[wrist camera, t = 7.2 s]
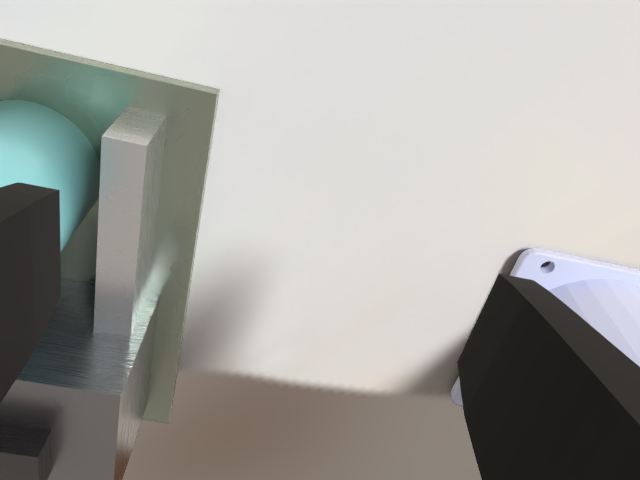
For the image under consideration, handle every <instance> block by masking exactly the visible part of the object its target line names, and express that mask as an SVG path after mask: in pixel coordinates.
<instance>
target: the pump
mask: <svg viewBox="0 0 640 480" xmlns="http://www.w3.org/2000/svg"><path fill="white" fill-rule="evenodd" d="M18 182H20V183H25V184H31V185H36V186H41V187H46V188H52V189H57V190H60V250H61V251H62V250H63V248H64V247H65V245H66V244H67V242H68V241H69V240H70V238H71V237H72V235H73V234H74V232H75V231H76V229H77V228H78V227H79V225H80V224H81V222H82V221H83V219H84V218H85V216H86V215H87V213H88V212H89V211H90V209H91V208H92V206H93V205H94V203H95V201H96V200H97V198H98V195H99V187H100V163H99V160H98V157H97V154H96V152H95V150H94V148H93V146H92V145H91V143H90V142H89V140H88V139H87V137H86V136H85V135H84V134H83V133H82V131H81V130H80V129H79V128H78V127H77V126H76V125H75V124H74V123H72V122H71V121H70V120H69V119H67V118H66V117H64V116H63V115H61V114H60V113H58V112H56V111H55V110H52V109H50V108H48V107H46V106H43V105H40V104H37V103H34V102H29V101H23V100H4V101H0V187H4V186H7V185H10V184H14V183H18Z"/></svg>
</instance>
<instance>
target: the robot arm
mask: <svg viewBox="0 0 640 480" xmlns="http://www.w3.org/2000/svg"><path fill="white" fill-rule="evenodd" d="M547 261H551V263H550V264H549V265H548V266H546V267H541V265H542V264H543V263H545V262H547ZM60 297H61V250H60V190H57V189H52V188H46V187H41V186H36V185H31V184H25V183H20V182H18V183H14V184H10V185H7V186H4V187H0V403H1V402H2V400H3V399H4V397H5V396H6V394H7V393H8V391H9V390H10V388H11V386H12V385H13V383H14V382H15V380H16V379H17V377H18V376H19V374H20V373H21V371H22V369H23V368H24V366H25V365H26V363H27V362H28V360H29V359H30V357H31V355H32V354H33V352H34V351H35V349H36V347H37V345H38V343H39V341H40V339H41V337H42V335H43V333H44V331H45V329H46V327H47V325H48V323H49V321H50V319H51V316H52V314H53V312H54V310H55V308H56V305H57V303H58V301H59V299H60ZM458 371H459V376H458V378H457V380H456V382H455V384H454V386H453V388H452V390H451V397H452V400H453V402H454V403H455V404H456V405H459V406H463V409H464V415H465V419H466V423H467V427H468V431H469V435H470V438H471V442H472V446H473V449H474V453H475V457H476V460H477V464H478V467H479V471H480V474H481V478H482V480H640V270H639V269H634V268H629V267H625V266H620V265H615V264H610V263H606V262H601V261H596V260H591V259H587V258H582V257H577V256H572V255H568V254H563V253H558V252H553V251H548V250H544V249H539V248H530V249H527V250H525V251H524V252H522V253H521V255H520V256H519V258H518V259H517V261H516V263H515V265H514V267H513V269H512V271H511V273H510V275H504V274H499V275H498V277H497V279H496V282H495V284H494V286H493V288H492V290H491V292H490V294H489V296H488V299H487V301H486V303H485V305H484V307H483V309H482V311H481V313H480V315H479V318H478V320H477V322H476V324H475V326H474V328H473V330H472V332H471V335H470V337H469V339H468V341H467V343H466V345H465V347H464V349H463V352H462V354H461V356H460V358H459V360H458Z"/></svg>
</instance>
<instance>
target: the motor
mask: <svg viewBox="0 0 640 480" xmlns="http://www.w3.org/2000/svg"><path fill="white" fill-rule="evenodd" d="M218 96H219V89H216V88H211V87H207V86H203V85H198V84H194V83H190V82H185V81H181V80H177V79H172V78H168V77H164V76H159V75H155V74H151V73H146V72H142V71H138V70H133V69H129V68H125V67H121V66H116V65H112V64H108V63H103V62H99V61H95V60H90V59H86V58H82V57H77V56H73V55H69V54H64V53H60V52H56V51H51V50H47V49H43V48H38V47H34V46H30V45H25V44H21V43H17V42H12V41H8V40H4V39H0V101H4V100H23V101H29V102H34V103H37V104H40V105H43V106H46V107H48V108H50V109H52V110H55V111H56V112H58V113H60V114H61V115H63V116H64V117H66V118H67V119H69V120H70V121H71V122H72V123H74V124H75V125H76V126H77V127H78V128H79V129H80V130H81V131H82V133H83V134H84V135H85V136H86V137H87V139H88V140H89V142H90V143H91V145H92V146H93V148H94V150H95V152H96V154H97V157H98V160H99V163H100V187H99V195H98V198H97V200H96V201H95V203H94V205H93V206H92V208H91V209H90V211H89V212H88V213H87V215H86V216H85V218H84V219H83V221H82V222H81V224H80V225H79V227H78V228H77V229H76V231H75V232H74V234H73V235H72V237H71V238H70V240H69V241H68V242H67V244H66V245H65V247H64V248H63V250H62V251H61V297H60V299H59V301H58V303H57V305H56V308H55V310H54V312H53V314H52V316H51V319H50V321H49V323H48V325H47V327H46V329H45V331H44V333H43V335H42V337H41V339H40V341H39V343H38V345H37V347H36V349H35V351H34V352H33V354H32V355H31V357H30V359H29V360H28V362H27V363H26V365H25V366H24V368H23V369H22V371H21V373H20V374H19V376H18V377H17V379H16V380H15V382H14V383H13V385H12V386H11V388H10V390H9V391H8V393H7V394H6V396H5V397H4V399H3V400H2V402H1V403H0V480H122V479H123V476H124V473H125V470H126V466H127V464H128V461H129V458H130V455H131V452H132V449H133V445H134V443H135V439H136V436H137V433H138V430H139V427H140V424H141V421H142V419H143V420H149V421H156V422H162V423H169V420H170V416H171V410H172V403H173V397H174V390H175V384H176V377H177V370H178V364H179V357H180V350H181V344H182V337H183V330H184V324H185V317H186V310H187V303H188V297H189V290H190V283H191V277H192V270H193V263H194V257H195V250H196V243H197V237H198V230H199V223H200V217H201V210H202V203H203V196H204V190H205V183H206V176H207V170H208V163H209V156H210V150H211V143H212V136H213V130H214V123H215V116H216V109H217V103H218Z"/></svg>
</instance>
